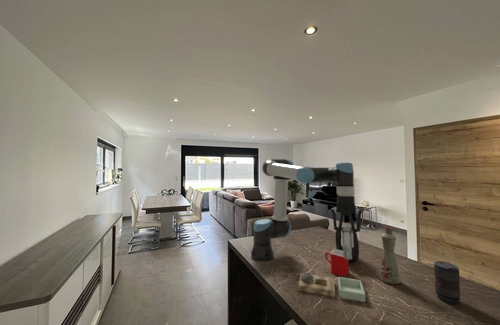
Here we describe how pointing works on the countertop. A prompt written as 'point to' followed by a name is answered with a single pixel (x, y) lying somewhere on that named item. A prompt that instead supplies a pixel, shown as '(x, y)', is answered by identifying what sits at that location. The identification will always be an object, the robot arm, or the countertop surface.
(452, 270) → the camera lens
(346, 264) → the mug
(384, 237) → the bottle
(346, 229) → the lock pin
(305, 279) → the block
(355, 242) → the wheel rim
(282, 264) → the countertop surface
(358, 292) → the tray
